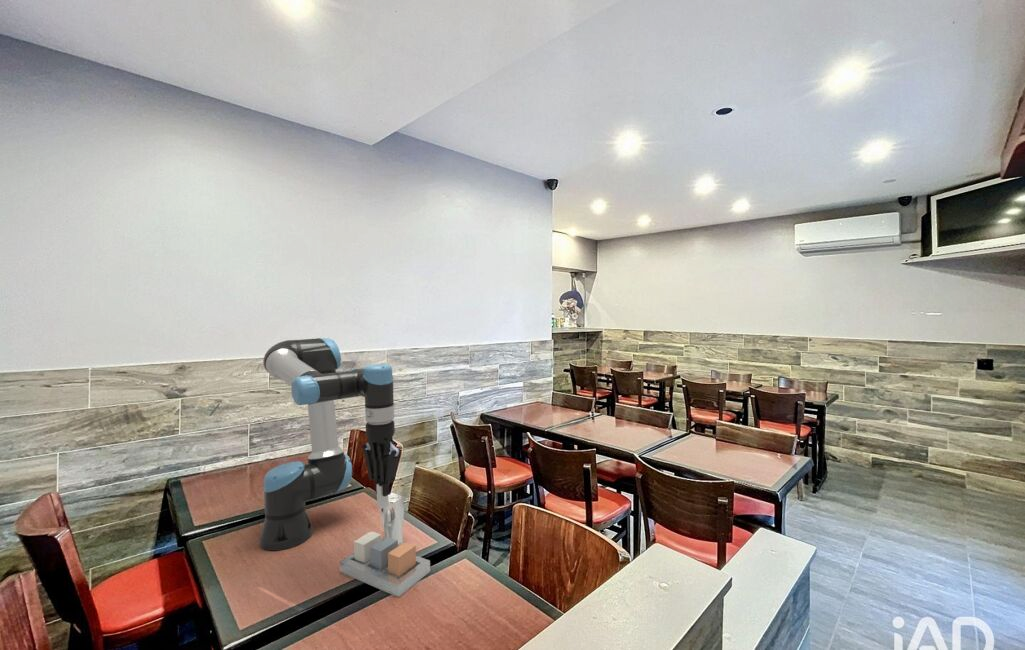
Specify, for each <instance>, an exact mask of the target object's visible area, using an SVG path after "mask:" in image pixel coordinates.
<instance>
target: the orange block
mask: <svg viewBox="0 0 1025 650" xmlns="http://www.w3.org/2000/svg"><path fill="white" fill-rule="evenodd" d="M416 550H417V549H416V545H414V544H412V543H409V542H406V541H405V542H404V541H403V543H401V544H400V545H398V547H396V548H395V549H393V550H392V551H390V552H389V553H388V572H390V573H393V574H395V575H398V576H400V575H402V574H403V573H404V572H406V571H407V570H408V569H410V568H411V567H412V566H414V565H415V564H416V556H417V554H416V553H417V551H416Z"/></svg>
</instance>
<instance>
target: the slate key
mask: <svg viewBox="0 0 1025 650" xmlns="http://www.w3.org/2000/svg"><path fill="white" fill-rule="evenodd" d="M398 546H399V545H398V540H396V539H393V538H390V537H386V538H385V537H384V538H383V539H381V541H380V542H378V543H377V544H375V545H374V546H372V547H370V551H371V566H374V567H376V568H379V569H381V570H382V569H383V568H385V567H386V566H387V565H388V553H389V552H390V551H392V550H393V549H395V548H396V547H398Z"/></svg>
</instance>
